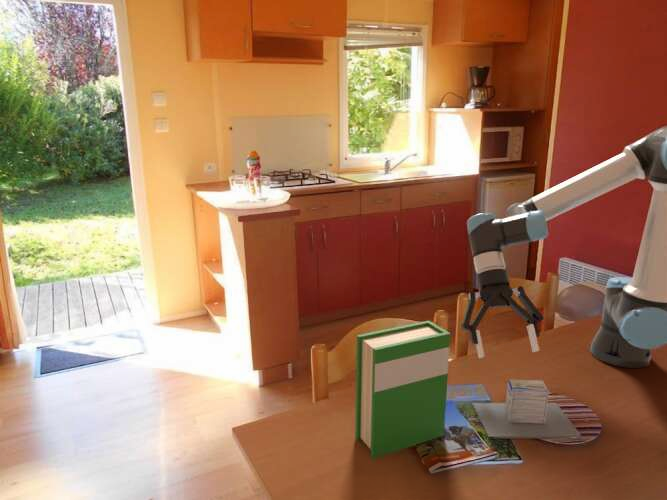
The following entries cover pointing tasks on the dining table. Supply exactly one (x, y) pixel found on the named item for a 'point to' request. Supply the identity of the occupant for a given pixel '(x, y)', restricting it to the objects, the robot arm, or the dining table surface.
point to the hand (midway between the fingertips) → (508, 354)
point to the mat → (501, 427)
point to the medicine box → (526, 401)
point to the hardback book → (401, 386)
